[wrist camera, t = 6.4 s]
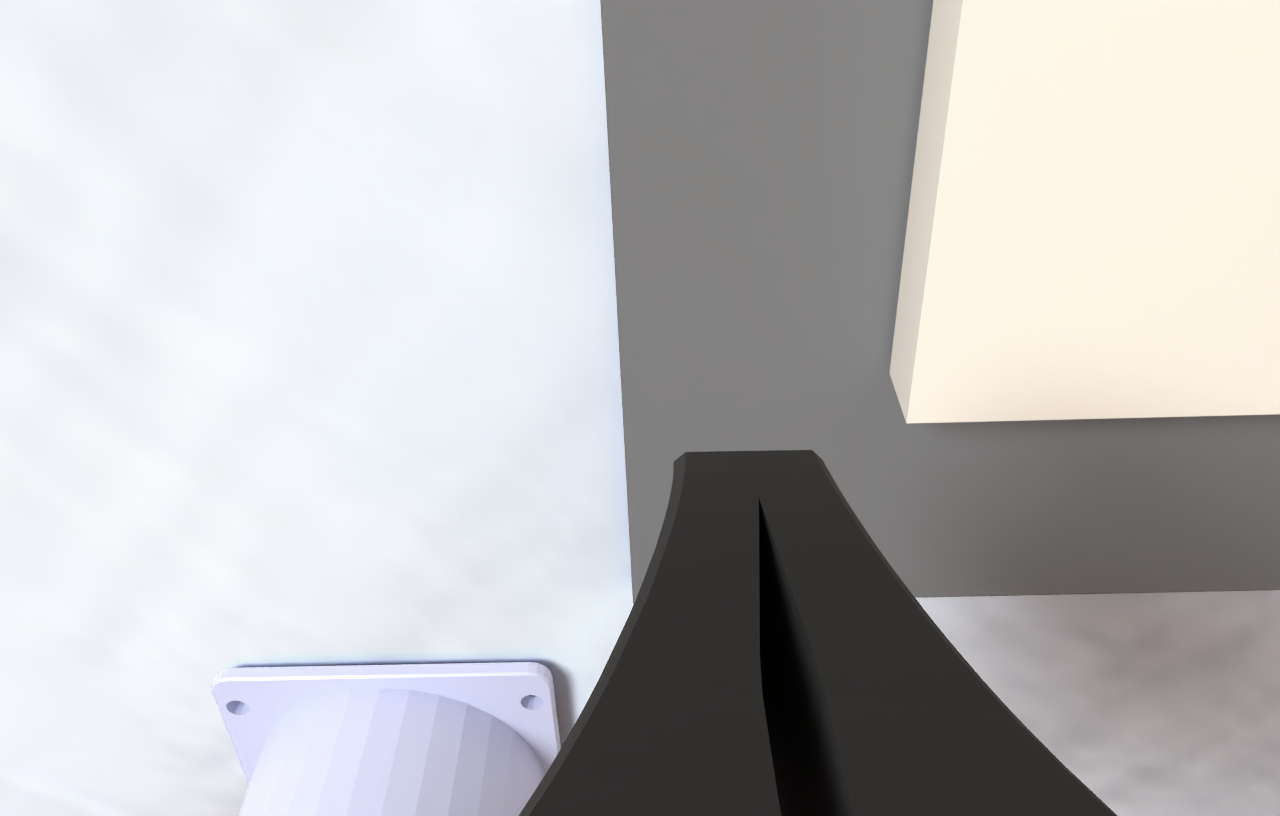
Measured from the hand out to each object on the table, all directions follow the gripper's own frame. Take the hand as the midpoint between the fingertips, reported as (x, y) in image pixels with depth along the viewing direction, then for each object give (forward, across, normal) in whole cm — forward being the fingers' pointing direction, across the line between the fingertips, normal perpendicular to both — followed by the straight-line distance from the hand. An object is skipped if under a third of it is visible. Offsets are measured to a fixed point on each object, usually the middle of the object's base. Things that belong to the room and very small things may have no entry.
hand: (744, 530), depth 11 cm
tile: (+8, -3, 0) cm, 9 cm away
